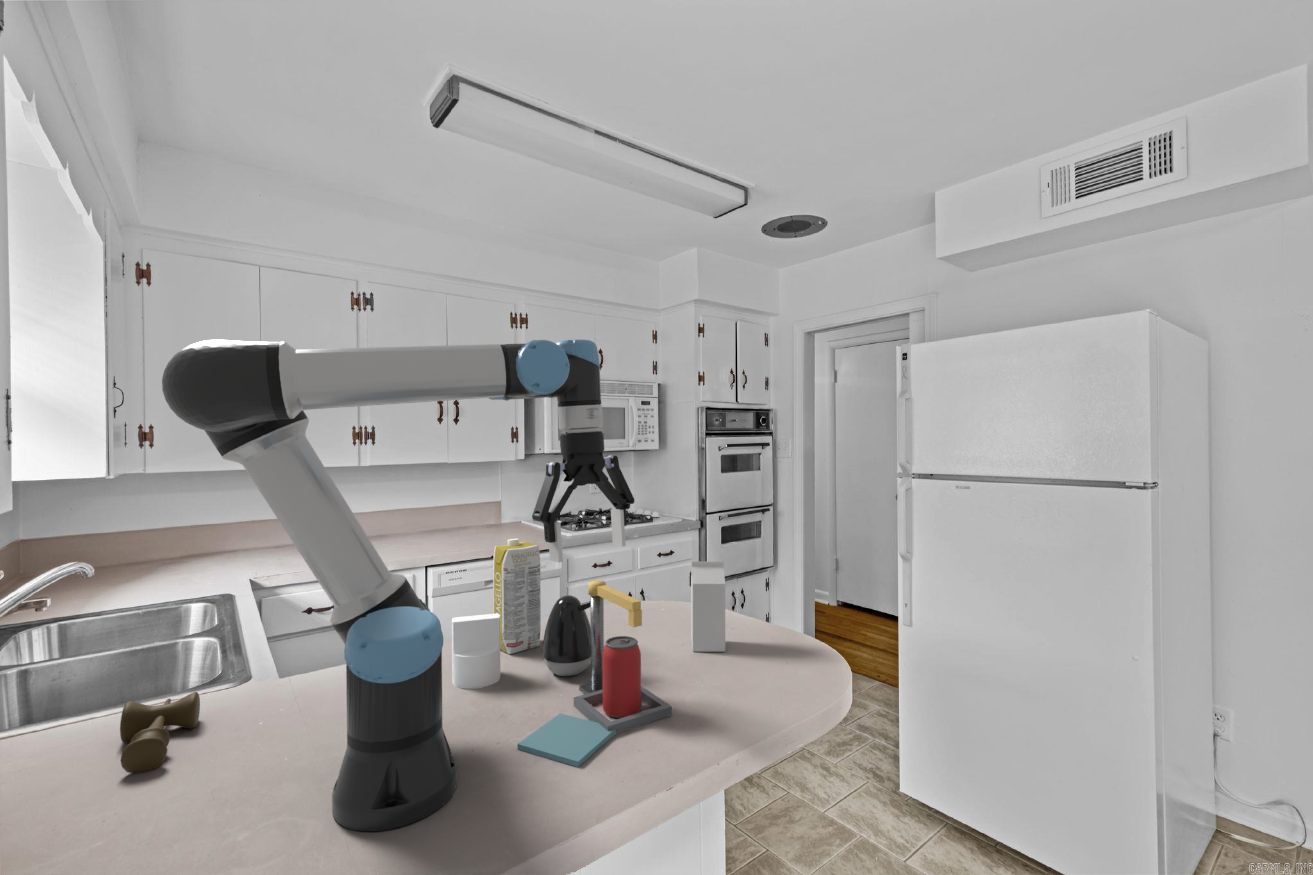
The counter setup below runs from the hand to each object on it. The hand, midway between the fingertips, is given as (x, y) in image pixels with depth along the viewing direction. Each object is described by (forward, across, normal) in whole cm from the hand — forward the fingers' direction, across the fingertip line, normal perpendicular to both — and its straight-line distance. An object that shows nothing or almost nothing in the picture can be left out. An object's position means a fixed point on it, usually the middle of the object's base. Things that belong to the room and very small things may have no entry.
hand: (589, 552), depth 104 cm
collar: (+27, +2, -4) cm, 28 cm away
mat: (+27, -11, -6) cm, 29 cm away
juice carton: (+27, +4, +35) cm, 44 cm away
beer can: (+28, +2, -4) cm, 28 cm away
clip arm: (+11, +3, -2) cm, 12 cm away
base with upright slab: (+26, -10, +25) cm, 38 cm away
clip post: (+27, +3, +5) cm, 28 cm away
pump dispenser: (+27, +5, +16) cm, 32 cm away
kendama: (+24, -57, +38) cm, 73 cm away
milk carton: (+29, +35, +6) cm, 46 cm away
